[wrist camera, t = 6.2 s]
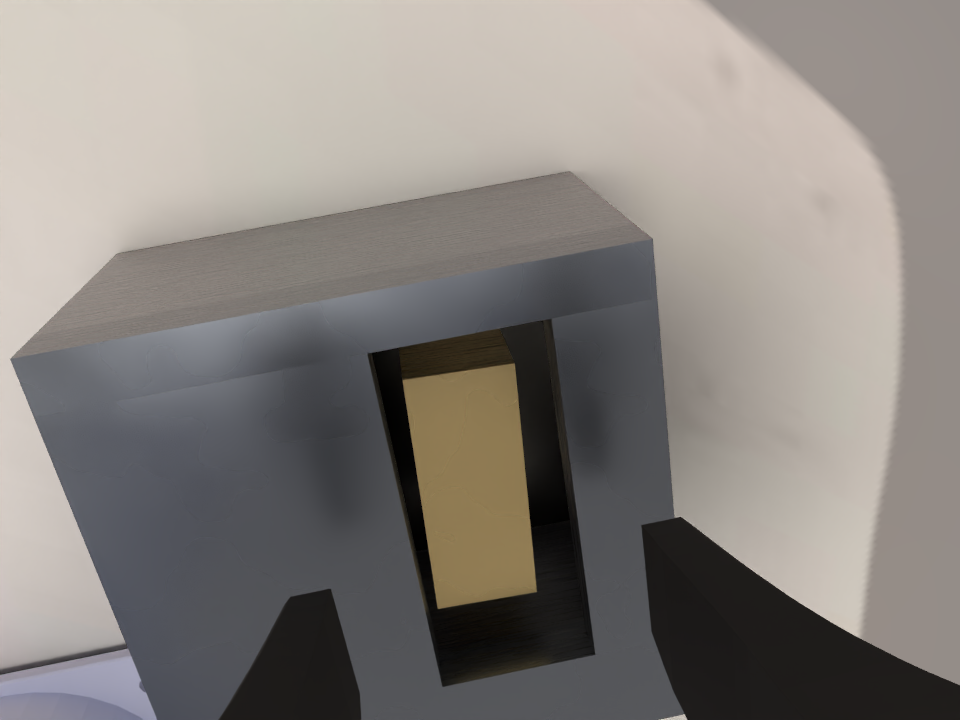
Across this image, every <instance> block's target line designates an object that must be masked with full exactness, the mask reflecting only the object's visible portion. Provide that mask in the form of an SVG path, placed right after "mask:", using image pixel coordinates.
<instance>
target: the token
mask: <svg viewBox="0 0 960 720" xmlns="http://www.w3.org/2000/svg"><path fill="white" fill-rule="evenodd" d="M399 355H400V363H401V372H402V380H403V387H404V393H405V400H406V406H407V413H408V419H409V426H410V432H411V439H412V445H413V451H414V458H415V464H416V471H417V477H418V484H419V490H420V497H421V503H422V510H423V516H424V523H425V529H426V536H427V542H428V549H429V555H430V562H431V568H432V575H433V581H434V588H435V594H436V600H437V607H438V609H441V608H446V607H452V606H458V605H464V604H470V603H476V602H481V601H487V600H493V599H499V598H505V597H511V596H517V595H522V594H528V593H534V592H537V587H536V577H535V566H534V556H533V546H532V536H531V525H530V515H529V505H528V494H527V484H526V474H525V463H524V453H523V443H522V432H521V422H520V412H519V402H518V391H517V381H516V371H515V363H514V360H513V358H512V356H511V354H510V351H509V349H508V347H507V344H506V342H505V340H504V338H503V335H502V333H501V331H500V328H499V329H494V330H489V331H483V332H478V333H473V334H468V335H462V336H457V337H452V338H447V339H441V340H436V341H431V342H426V343H420V344H415V345H410V346H405V347H399Z"/></svg>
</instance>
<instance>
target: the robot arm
mask: <svg viewBox="0 0 960 720" xmlns="http://www.w3.org/2000/svg"><path fill="white" fill-rule="evenodd" d="M641 528H642V538H643V549H644V559H645V569H646V580H647V590H648V601H649V611H650V622H651V632H652V635H653V637H654V640H655V643H656V646H657V649H658V651H659V654H660V657H661V660H662V662H663V665H664V668H665V670H666V673H667V676H668V678H669V681H670V684H671V686H672V689H673V692H674V694H675V696H676V698H677V700H678V702H679V704H680V706H681V708H682V710H683V712H684V714H685V716H686V718H687V720H960V685H958V684H955V683H953V682H951V681H948V680H946V679H943V678H941V677H939V676H936V675H934V674H932V673H929V672H927V671H925V670H922V669H920V668H918V667H916V666H914V665H912V664H909V663H907V662H905V661H903V660H901V659H899V658H897V657H895V656H893V655H891V654H889V653H887V652H885V651H883V650H881V649H879V648H877V647H875V646H873V645H871V644H870V643H867V642H866V641H864V640H862V639H860V638H858V637H856V636H854V635H852V634H851V633H849V632H847V631H845V630H843V629H842V628H840V627H838V626H836V625H835V624H833V623H831V622H830V621H828V620H826V619H825V618H823V617H821V616H820V615H818V614H816V613H815V612H813V611H811V610H810V609H808V608H807V607H805V606H803V605H802V604H800V603H799V602H797V601H796V600H794V599H792V598H791V597H789V596H788V595H786V594H785V593H784V592H782V591H781V590H779V589H778V588H776V587H775V586H773V585H772V584H771V583H769V582H768V581H766V580H765V579H763V578H762V577H760V576H759V575H758V574H756V573H755V572H753V571H752V570H751V569H749V568H748V567H746V566H745V565H744V564H742V563H741V562H740V561H738V560H737V559H736V558H734V557H733V556H732V555H730V554H729V553H728V552H726V551H725V550H724V549H722V548H721V547H720V546H718V545H717V544H716V543H714V542H713V541H712V540H711V539H709V538H708V537H707V536H705V535H704V534H703V533H701V532H700V531H699V530H698V529H696V528H695V527H694V526H692V525H691V524H690V523H688V522H687V521H686V520H684V519H683V518H681V517H678V518H673V519H668V520H663V521H658V522H653V523H649V524H644V525H641ZM0 720H157V718H156V716H155V713H154V711H153V708H152V706H151V704H150V701H149V699H148V696H147V694H146V691H145V689H144V686H143V684H142V681H141V679H140V677H139V674H138V672H137V669H136V667H135V664H134V662H133V659H132V657H131V654H130V652H129V650H128V649H124V650H119V651H114V652H109V653H104V654H100V655H95V656H90V657H85V658H80V659H75V660H70V661H65V662H61V663H56V664H51V665H46V666H41V667H36V668H31V669H27V670H22V671H17V672H12V673H7V674H2V675H0ZM218 720H361V703H360V692H359V688H358V685H357V681H356V677H355V674H354V670H353V667H352V663H351V659H350V656H349V652H348V649H347V645H346V641H345V638H344V634H343V630H342V627H341V623H340V620H339V616H338V612H337V609H336V605H335V602H334V598H333V594H332V591H331V588H330V589H326V590H321V591H316V592H311V593H306V594H301V595H296V596H291V597H290V598H289V599H288V600H287V602H286V603H285V604H284V606H283V608H282V610H281V612H280V614H279V616H278V618H277V620H276V621H275V623H274V625H273V627H272V629H271V631H270V633H269V635H268V636H267V638H266V640H265V642H264V644H263V646H262V647H261V649H260V651H259V653H258V655H257V656H256V658H255V660H254V662H253V664H252V665H251V667H250V669H249V670H248V672H247V674H246V675H245V677H244V679H243V680H242V682H241V684H240V686H239V687H238V689H237V691H236V692H235V694H234V696H233V697H232V699H231V701H230V702H229V704H228V705H227V707H226V709H225V710H224V712H223V713H222V715H221V716H220V718H219V719H218Z"/></svg>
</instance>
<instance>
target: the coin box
mask: <svg viewBox="0 0 960 720" xmlns="http://www.w3.org/2000/svg"><path fill="white" fill-rule="evenodd" d="M541 320H543V325H544V332H545V340H546V347H547V355H548V362H549V369H550V377H551V384H552V392H553V399H554V406H555V414H556V421H557V429H558V436H559V444H560V451H561V458H562V466H563V473H564V481H565V488H566V495H567V503H568V510H569V518H570V520H566V521H561V522H557V523H552V524H547V525H542V526H537V527H532V528H531V536H532V546H533V556H534V566H535V577H536V587H537V592H534V593H528V594H522V595H517V596H511V597H505V598H499V599H493V600H487V601H481V602H476V603H470V604H464V605H458V606H452V607H446V608H441V609H438V607H437V600H436V594H435V588H434V581H433V575H432V568H431V562H430V555H429V549H424V550H419V551H416V549H415V544H414V540H413V535H412V531H411V526H410V522H409V517H408V513H407V508H406V504H405V499H404V495H403V490H402V486H401V481H400V477H399V473H398V468H397V464H396V459H395V455H394V450H393V446H392V441H391V437H390V432H389V428H388V423H387V419H386V414H385V410H384V405H383V401H382V396H381V392H380V387H379V383H378V379H377V374H376V370H375V365H374V361H373V356H372V353H373V352H378V351H384V350H389V349H394V348H399V347H405V346H410V345H415V344H420V343H426V342H431V341H436V340H441V339H447V338H452V337H457V336H462V335H468V334H473V333H478V332H483V331H489V330H494V329H499V328H504V327H510V326H515V325H520V324H525V323H531V322H536V321H541ZM11 362H12V364H13V367H14V369H15V372H16V374H17V377H18V379H19V382H20V384H21V386H22V389H23V391H24V394H25V396H26V399H27V401H28V404H29V406H30V409H31V411H32V414H33V416H34V418H35V421H36V423H37V426H38V428H39V431H40V433H41V436H42V438H43V441H44V443H45V445H46V448H47V450H48V453H49V455H50V458H51V460H52V463H53V465H54V468H55V470H56V473H57V475H58V477H59V480H60V482H61V485H62V487H63V490H64V492H65V495H66V497H67V500H68V502H69V504H70V507H71V509H72V512H73V514H74V517H75V519H76V522H77V524H78V527H79V529H80V532H81V534H82V536H83V539H84V541H85V544H86V546H87V549H88V551H89V554H90V556H91V559H92V561H93V563H94V566H95V568H96V571H97V573H98V576H99V578H100V581H101V583H102V586H103V588H104V591H105V593H106V595H107V598H108V600H109V603H110V605H111V608H112V610H113V613H114V615H115V618H116V620H117V622H118V625H119V627H120V630H121V632H122V635H123V637H124V640H125V642H126V645H127V647H128V650H129V652H130V654H131V657H132V659H133V662H134V664H135V667H136V669H137V672H138V674H139V677H140V679H141V681H142V684H143V686H144V689H145V691H146V694H147V696H148V699H149V701H150V704H151V706H152V708H153V711H154V713H155V716H156V718H157V720H218V719H219V718H220V716H221V715H222V713H223V712H224V710H225V709H226V707H227V705H228V704H229V702H230V701H231V699H232V697H233V696H234V694H235V692H236V691H237V689H238V687H239V686H240V684H241V682H242V680H243V679H244V677H245V675H246V674H247V672H248V670H249V669H250V667H251V665H252V664H253V662H254V660H255V658H256V656H257V655H258V653H259V651H260V649H261V647H262V646H263V644H264V642H265V640H266V638H267V636H268V635H269V633H270V631H271V629H272V627H273V625H274V623H275V621H276V620H277V618H278V616H279V614H280V612H281V610H282V608H283V606H284V604H285V603H286V602H287V600H288V599H289V598H290V597H291V596H296V595H301V594H306V593H311V592H316V591H321V590H326V589H330V588H331V591H332V594H333V598H334V602H335V605H336V609H337V612H338V616H339V620H340V623H341V627H342V630H343V634H344V638H345V641H346V645H347V649H348V652H349V656H350V659H351V663H352V667H353V670H354V674H355V677H356V681H357V685H358V688H359V692H360V703H361V720H659V719H664V718H669V717H673V716H678V715H682V714H684V712H683V710H682V708H681V706H680V704H679V702H678V700H677V698H676V696H675V694H674V692H673V689H672V686H671V684H670V681H669V678H668V676H667V673H666V670H665V668H664V665H663V662H662V660H661V657H660V654H659V651H658V649H657V646H656V643H655V640H654V637H653V635H652V632H651V622H650V611H649V601H648V590H647V580H646V569H645V559H644V549H643V538H642V528H641V525H644V524H649V523H653V522H658V521H663V520H668V519H673V518H674V508H673V496H672V483H671V470H670V457H669V444H668V431H667V418H666V405H665V392H664V379H663V366H662V354H661V341H660V328H659V315H658V302H657V289H656V276H655V263H654V250H653V239H652V238H651V237H650V236H648V235H647V234H646V233H645V232H644V231H642V230H641V229H640V228H639V227H637V226H636V225H635V224H634V223H632V222H631V221H630V220H629V219H628V218H626V217H625V216H624V215H623V214H621V213H620V212H619V211H618V210H616V209H615V208H614V207H613V206H612V205H610V204H609V203H608V202H607V201H605V200H604V199H603V198H602V197H600V196H599V195H598V194H597V193H596V192H594V191H593V190H592V189H591V188H589V187H588V186H587V185H586V184H584V183H583V182H582V181H581V180H580V179H578V178H577V177H576V176H575V175H573V174H572V173H571V172H565V173H559V174H554V175H548V176H543V177H537V178H532V179H526V180H521V181H515V182H510V183H504V184H499V185H493V186H488V187H482V188H477V189H471V190H466V191H460V192H455V193H449V194H444V195H438V196H433V197H427V198H422V199H416V200H411V201H405V202H400V203H394V204H389V205H383V206H378V207H372V208H367V209H361V210H356V211H350V212H345V213H339V214H334V215H328V216H323V217H317V218H312V219H306V220H301V221H295V222H290V223H284V224H279V225H273V226H268V227H262V228H257V229H251V230H246V231H240V232H235V233H229V234H224V235H218V236H213V237H207V238H202V239H196V240H191V241H185V242H180V243H174V244H169V245H163V246H158V247H152V248H147V249H141V250H136V251H130V252H125V253H119V254H116V255H115V256H114V257H113V258H112V259H111V260H110V261H109V262H108V263H107V264H106V265H105V266H104V267H103V268H102V269H101V270H100V271H99V272H98V273H97V274H96V275H95V276H94V277H93V278H92V279H91V280H90V281H89V282H88V283H87V284H86V285H85V286H84V287H83V288H82V289H81V290H80V291H79V292H78V293H77V294H76V295H75V296H74V297H73V298H72V299H70V300H69V301H68V302H67V303H66V304H65V305H64V306H63V307H62V308H61V309H60V310H59V311H58V312H57V313H56V314H55V315H54V316H53V317H52V318H51V319H50V320H49V321H48V322H47V323H46V324H45V325H44V326H43V327H42V328H41V329H40V330H39V331H38V332H37V333H36V334H35V335H34V336H33V337H32V338H31V339H30V340H29V341H28V342H27V343H26V344H25V345H24V346H23V347H22V348H21V349H20V350H19V351H18V352H17V353H16V354H15V355H14V356H13V357H12V358H11Z"/></svg>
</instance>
